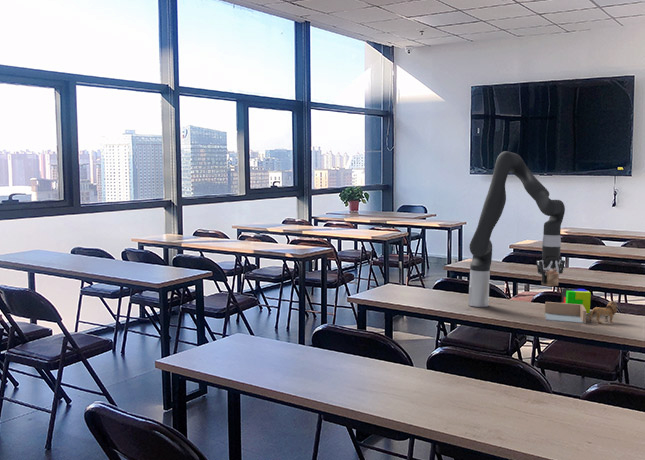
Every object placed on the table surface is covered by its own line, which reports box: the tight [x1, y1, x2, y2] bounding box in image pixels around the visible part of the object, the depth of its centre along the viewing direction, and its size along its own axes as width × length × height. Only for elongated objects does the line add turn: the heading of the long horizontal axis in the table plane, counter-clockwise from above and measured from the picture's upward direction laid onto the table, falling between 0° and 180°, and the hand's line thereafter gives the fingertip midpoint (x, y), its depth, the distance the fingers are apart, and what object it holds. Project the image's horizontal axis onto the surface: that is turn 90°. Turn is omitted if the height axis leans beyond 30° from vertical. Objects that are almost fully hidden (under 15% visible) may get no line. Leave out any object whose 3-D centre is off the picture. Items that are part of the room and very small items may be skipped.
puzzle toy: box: [561, 287, 592, 314], centre depth 294 cm, size 10×10×10 cm
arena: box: [544, 301, 587, 324], centre depth 278 cm, size 16×15×5 cm
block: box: [540, 269, 560, 287], centre depth 276 cm, size 5×5×6 cm
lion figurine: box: [588, 300, 618, 324], centre depth 272 cm, size 15×5×9 cm, turn 113°
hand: (549, 283), depth 276 cm, fingers closed on block, 5 cm apart
